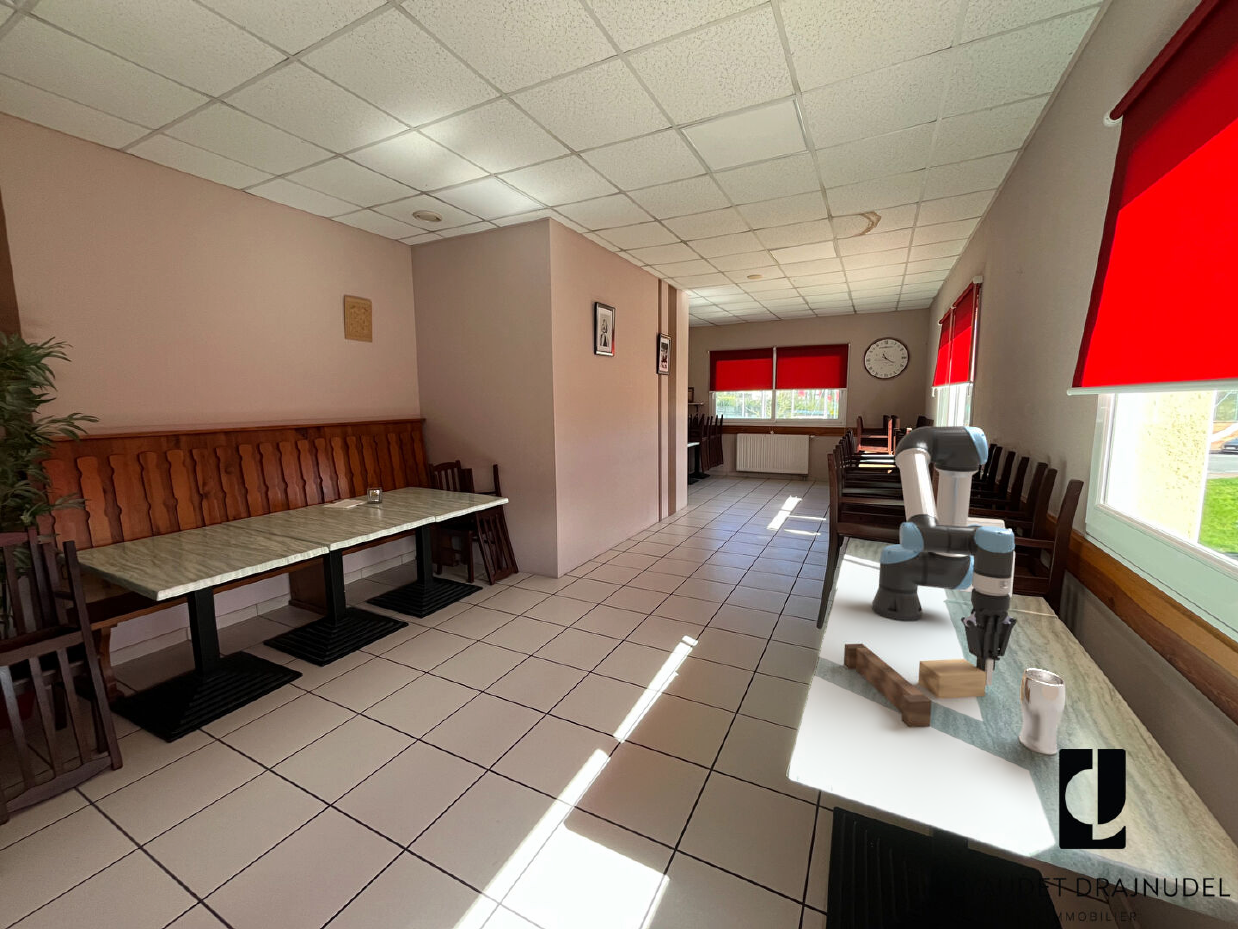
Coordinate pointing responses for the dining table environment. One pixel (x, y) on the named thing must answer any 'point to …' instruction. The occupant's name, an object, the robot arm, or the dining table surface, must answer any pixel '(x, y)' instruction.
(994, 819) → the dining table surface
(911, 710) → the brown wooden bar
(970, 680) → the oak block
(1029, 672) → the silver metal tumbler
